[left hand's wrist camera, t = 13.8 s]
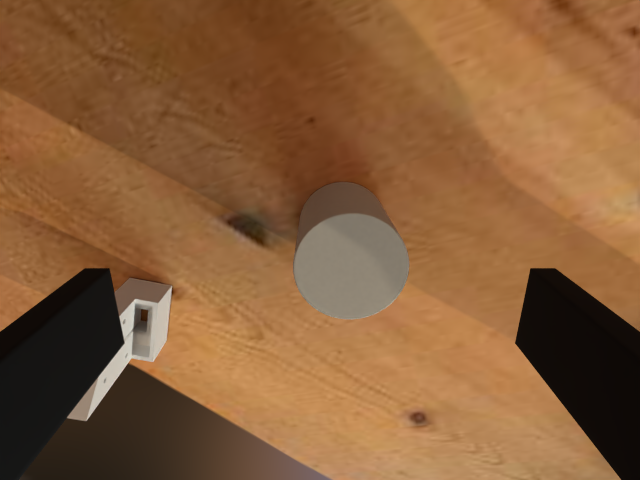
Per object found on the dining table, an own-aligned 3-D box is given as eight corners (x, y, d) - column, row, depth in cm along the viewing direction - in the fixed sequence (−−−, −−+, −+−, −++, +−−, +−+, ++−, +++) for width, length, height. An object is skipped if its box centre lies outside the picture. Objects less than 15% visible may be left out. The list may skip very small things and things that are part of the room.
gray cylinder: (321, 276, 35) (323, 335, 26) (284, 204, 32) (272, 243, 24) (397, 242, 34) (426, 293, 25) (364, 166, 31) (382, 192, 23)
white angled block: (111, 390, 35) (58, 416, 27) (140, 279, 37) (100, 271, 29) (152, 397, 36) (113, 425, 27) (179, 287, 37) (151, 281, 29)
